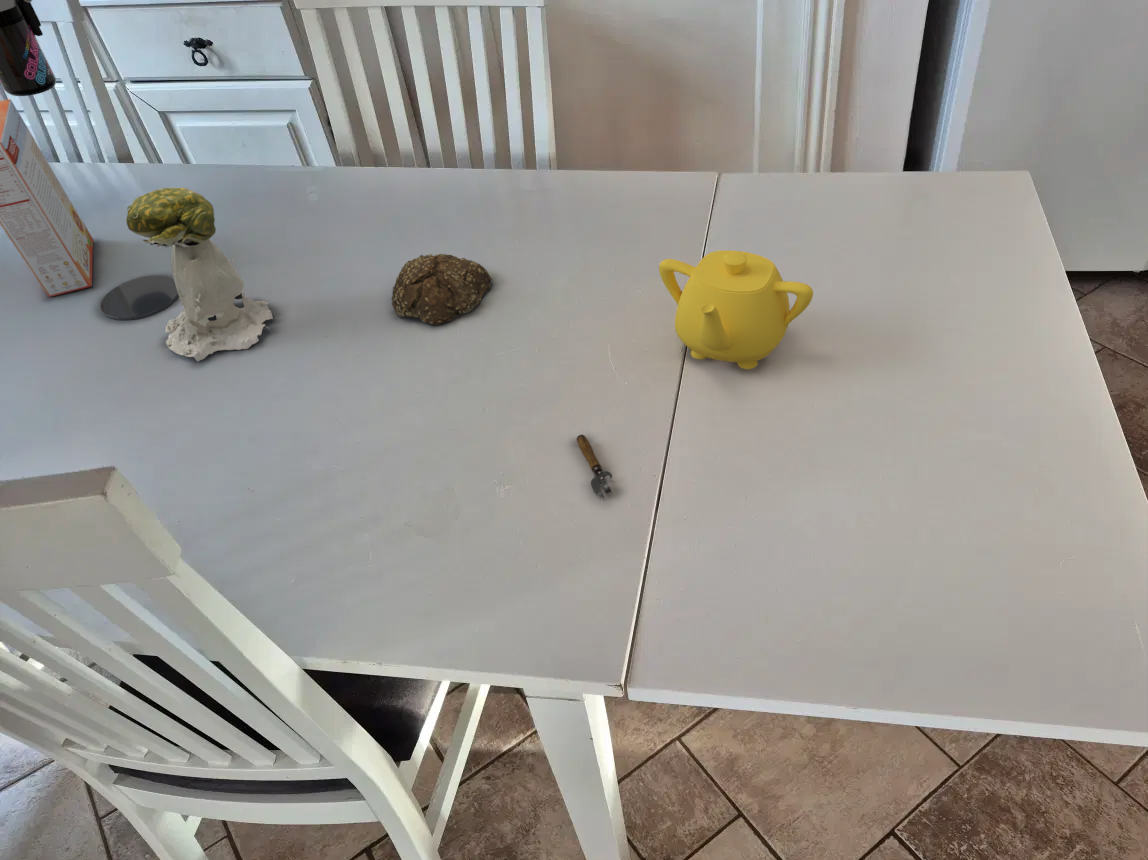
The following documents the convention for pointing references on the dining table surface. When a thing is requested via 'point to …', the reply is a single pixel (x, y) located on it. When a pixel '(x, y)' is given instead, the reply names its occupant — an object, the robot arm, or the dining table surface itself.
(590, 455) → the can opener
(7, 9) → the supplement container
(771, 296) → the teapot
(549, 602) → the dining table surface
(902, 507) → the dining table surface
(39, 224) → the cracker box
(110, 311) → the coaster
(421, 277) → the bread roll
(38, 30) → the robot arm
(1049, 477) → the dining table surface
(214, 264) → the frog
